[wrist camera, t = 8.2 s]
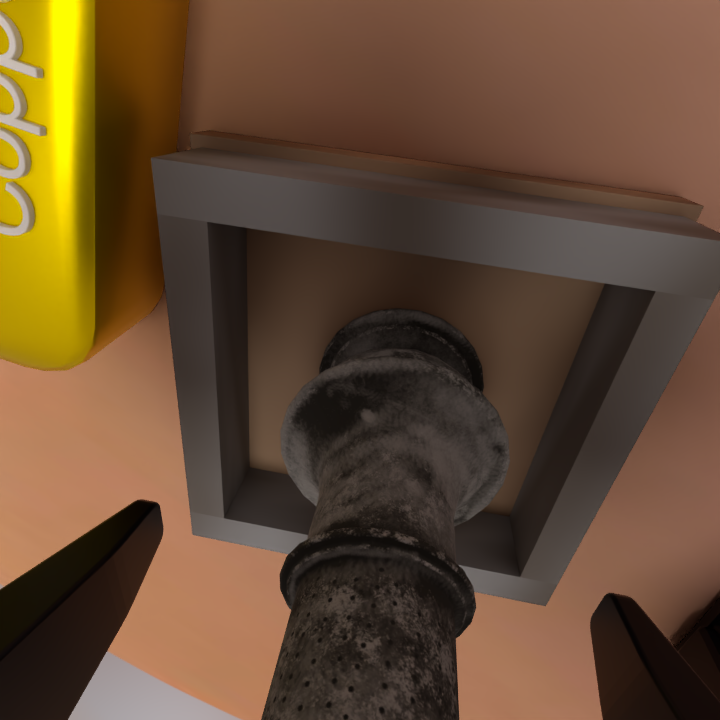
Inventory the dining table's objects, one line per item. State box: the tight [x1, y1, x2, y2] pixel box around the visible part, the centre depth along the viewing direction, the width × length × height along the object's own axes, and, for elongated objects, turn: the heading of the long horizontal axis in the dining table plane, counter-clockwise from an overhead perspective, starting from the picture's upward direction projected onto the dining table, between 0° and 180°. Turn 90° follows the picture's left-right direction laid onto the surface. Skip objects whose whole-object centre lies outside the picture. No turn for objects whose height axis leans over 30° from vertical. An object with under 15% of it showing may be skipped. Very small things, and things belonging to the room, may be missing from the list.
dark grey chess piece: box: [261, 308, 510, 720], centre depth 10 cm, size 6×6×12 cm
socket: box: [151, 131, 720, 606], centre depth 14 cm, size 13×13×4 cm
